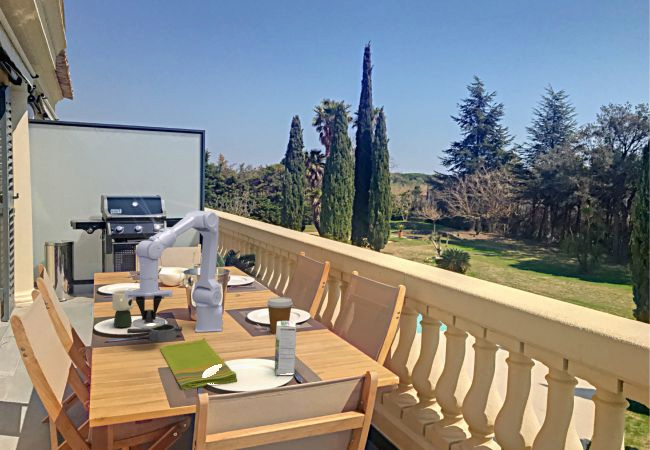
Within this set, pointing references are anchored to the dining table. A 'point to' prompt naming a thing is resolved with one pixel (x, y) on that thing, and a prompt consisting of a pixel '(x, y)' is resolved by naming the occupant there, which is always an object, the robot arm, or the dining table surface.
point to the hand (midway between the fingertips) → (149, 319)
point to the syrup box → (285, 347)
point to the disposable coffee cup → (278, 311)
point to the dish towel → (196, 364)
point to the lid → (148, 321)
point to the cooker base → (159, 332)
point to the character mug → (122, 309)
